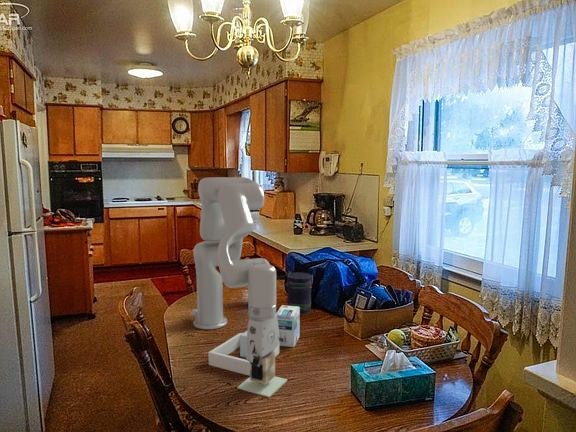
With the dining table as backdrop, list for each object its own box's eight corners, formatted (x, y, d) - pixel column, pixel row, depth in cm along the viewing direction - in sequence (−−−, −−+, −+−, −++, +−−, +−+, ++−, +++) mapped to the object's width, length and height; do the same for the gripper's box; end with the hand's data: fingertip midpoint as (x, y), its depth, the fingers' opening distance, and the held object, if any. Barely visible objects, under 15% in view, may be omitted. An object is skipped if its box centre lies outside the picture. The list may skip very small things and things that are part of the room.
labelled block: (265, 384, 118) (265, 359, 117) (249, 379, 121) (249, 355, 120) (275, 376, 123) (275, 352, 122) (259, 372, 125) (258, 348, 124)
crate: (208, 364, 134) (208, 352, 133) (240, 344, 148) (240, 332, 148) (250, 376, 127) (250, 362, 126) (279, 353, 142) (279, 341, 141)
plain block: (240, 356, 140) (239, 335, 139) (248, 350, 144) (248, 329, 143) (253, 359, 137) (253, 338, 136) (261, 353, 142) (261, 332, 141)
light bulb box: (294, 347, 146) (294, 316, 145) (274, 346, 147) (274, 314, 146) (300, 335, 156) (300, 305, 155) (281, 333, 158) (281, 304, 156)
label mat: (237, 388, 120) (237, 386, 120) (256, 372, 129) (256, 371, 129) (269, 397, 115) (269, 396, 115) (287, 380, 124) (287, 379, 124)
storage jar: (315, 309, 184) (315, 274, 182) (303, 316, 175) (303, 279, 173) (294, 305, 189) (295, 271, 187) (282, 311, 181) (282, 276, 179)
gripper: (257, 323, 110) (257, 391, 112) (289, 303, 125) (289, 364, 127) (232, 317, 114) (233, 384, 116) (266, 299, 129) (266, 359, 131)
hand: (262, 373), depth 122 cm, fingers closed on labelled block, 5 cm apart
